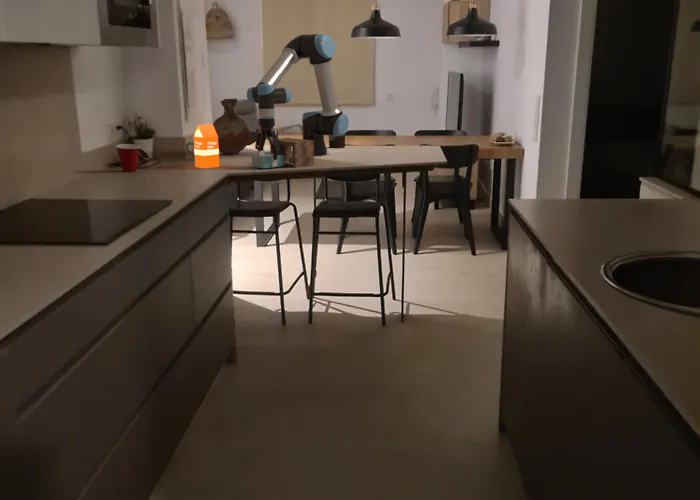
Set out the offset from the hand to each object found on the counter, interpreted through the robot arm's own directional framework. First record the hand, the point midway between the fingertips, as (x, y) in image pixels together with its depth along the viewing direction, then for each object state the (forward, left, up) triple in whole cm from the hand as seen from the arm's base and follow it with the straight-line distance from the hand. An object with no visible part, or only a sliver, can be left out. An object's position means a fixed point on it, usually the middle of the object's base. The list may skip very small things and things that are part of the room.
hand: (268, 165), depth 328 cm
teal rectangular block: (0, 0, 0) cm, 0 cm away
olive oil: (-81, -38, -1) cm, 89 cm away
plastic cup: (+53, -35, -1) cm, 64 cm away
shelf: (-15, 0, -1) cm, 15 cm away
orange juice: (+19, -23, -1) cm, 30 cm away
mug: (+9, -45, -1) cm, 46 cm away
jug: (-17, -55, -1) cm, 58 cm away
